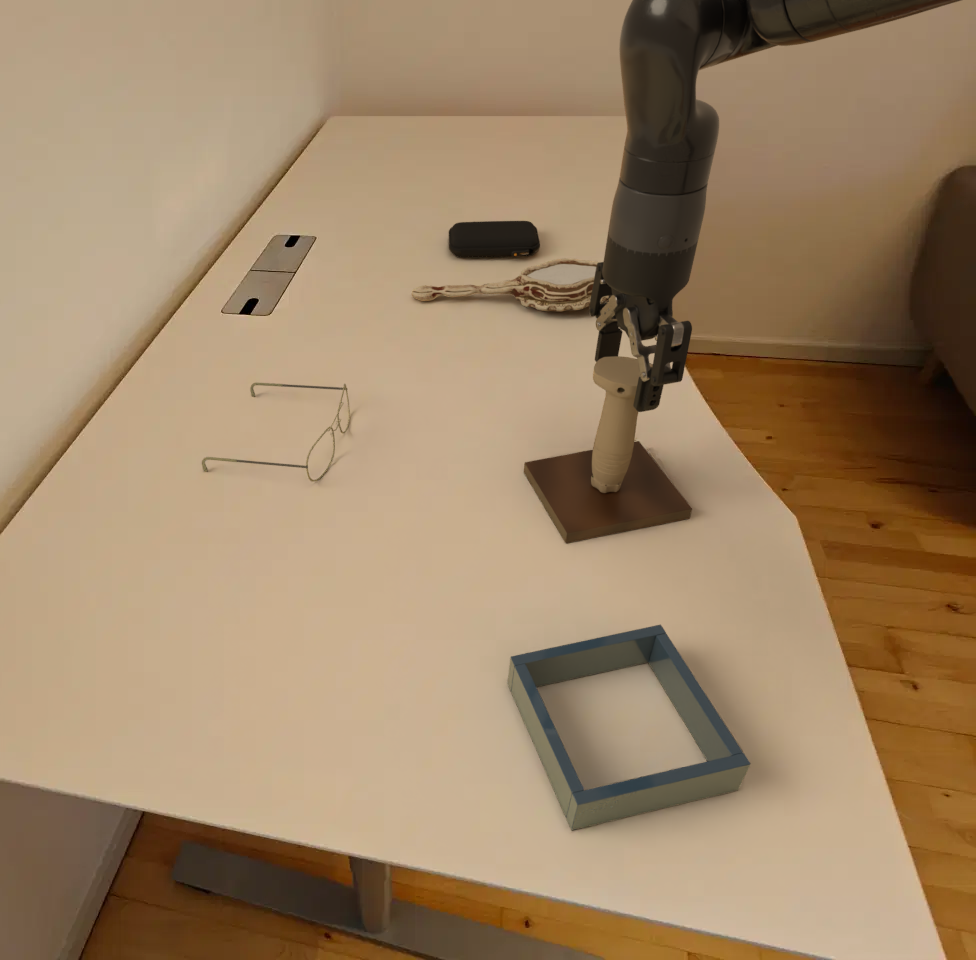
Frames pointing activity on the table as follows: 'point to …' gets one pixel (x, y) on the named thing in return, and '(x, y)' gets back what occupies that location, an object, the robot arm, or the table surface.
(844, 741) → the table surface
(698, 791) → the blue square frame
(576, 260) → the hand mirror
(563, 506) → the board
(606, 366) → the handle
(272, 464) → the eyeglasses
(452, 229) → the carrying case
